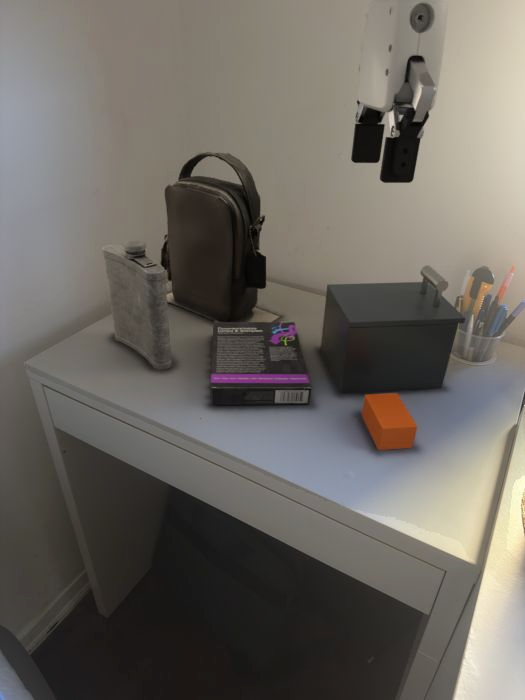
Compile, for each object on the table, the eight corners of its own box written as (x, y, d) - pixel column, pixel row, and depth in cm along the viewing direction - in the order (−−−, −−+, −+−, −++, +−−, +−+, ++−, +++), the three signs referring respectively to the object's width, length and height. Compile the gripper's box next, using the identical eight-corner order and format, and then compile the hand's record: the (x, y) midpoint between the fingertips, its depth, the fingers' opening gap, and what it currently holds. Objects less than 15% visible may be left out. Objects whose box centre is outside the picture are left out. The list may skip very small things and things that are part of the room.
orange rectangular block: (361, 415, 68) (364, 394, 66) (392, 413, 69) (397, 392, 67) (378, 450, 62) (382, 428, 60) (412, 447, 63) (417, 426, 61)
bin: (409, 345, 85) (422, 286, 79) (442, 387, 74) (458, 323, 69) (320, 349, 83) (326, 289, 77) (340, 393, 72) (349, 328, 67)
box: (309, 408, 70) (294, 336, 86) (312, 387, 68) (296, 319, 84) (209, 407, 69) (213, 335, 85) (209, 387, 67) (213, 317, 83)
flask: (131, 330, 87) (118, 228, 77) (179, 363, 78) (172, 253, 69) (112, 336, 84) (97, 233, 75) (159, 371, 76) (149, 259, 66)
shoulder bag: (279, 316, 93) (287, 157, 78) (249, 335, 86) (252, 166, 72) (191, 285, 104) (184, 141, 89) (158, 299, 98) (145, 146, 83)
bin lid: (426, 286, 79) (433, 256, 77) (464, 323, 69) (473, 290, 66) (326, 289, 77) (329, 258, 75) (349, 327, 67) (353, 293, 64)
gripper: (501, -47, 37) (449, 191, 45) (411, -20, 51) (385, 156, 60) (404, -53, 36) (370, 191, 44) (340, -23, 50) (324, 156, 59)
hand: (379, 171), depth 52 cm, fingers open, 9 cm apart
